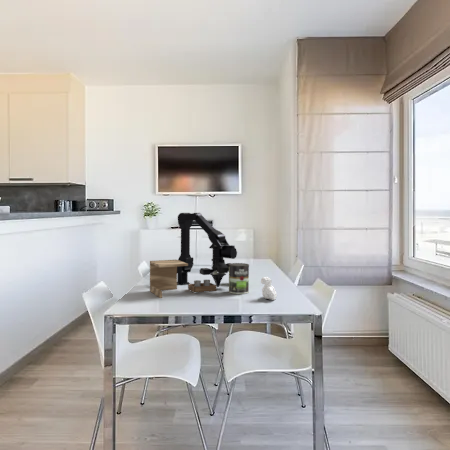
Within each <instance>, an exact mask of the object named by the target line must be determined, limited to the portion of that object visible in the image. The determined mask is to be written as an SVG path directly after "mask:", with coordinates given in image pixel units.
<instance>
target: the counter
mask: <svg viewBox="0 0 450 450" xmlns="http://www.w3.org/2000/svg"><path fill="white" fill-rule="evenodd" d="M177 266H188V263H185V262H182V261H179V260H178V259H163V260H162V259H161V260H149V292H150V293H152V294H153V295H155V296H156V297H158V298H159V299H163V298H162V297H163V291H170V290H177V289H178V284H177Z"/></svg>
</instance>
